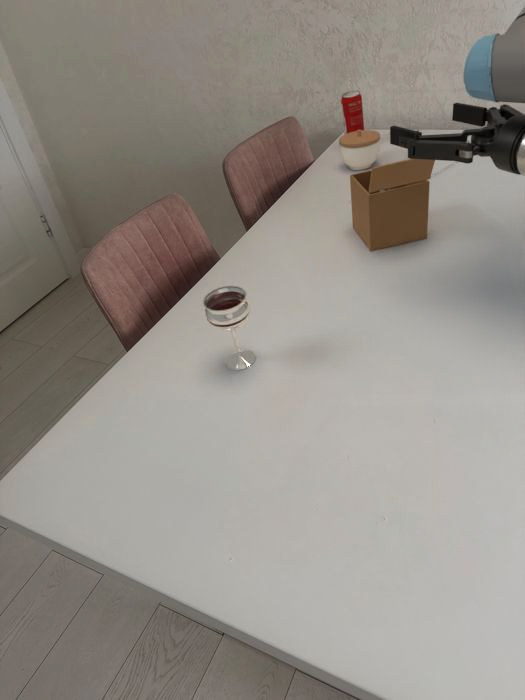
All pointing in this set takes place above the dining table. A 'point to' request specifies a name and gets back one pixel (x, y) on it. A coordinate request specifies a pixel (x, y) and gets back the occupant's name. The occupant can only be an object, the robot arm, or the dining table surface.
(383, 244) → the carton
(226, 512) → the dining table surface
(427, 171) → the carton flap
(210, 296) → the wineglass
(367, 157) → the trinket box
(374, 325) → the dining table surface
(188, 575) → the dining table surface
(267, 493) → the dining table surface
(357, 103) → the beverage can
